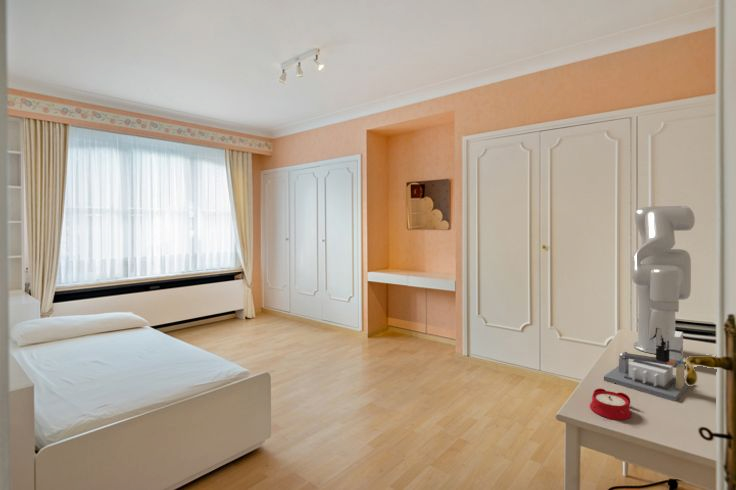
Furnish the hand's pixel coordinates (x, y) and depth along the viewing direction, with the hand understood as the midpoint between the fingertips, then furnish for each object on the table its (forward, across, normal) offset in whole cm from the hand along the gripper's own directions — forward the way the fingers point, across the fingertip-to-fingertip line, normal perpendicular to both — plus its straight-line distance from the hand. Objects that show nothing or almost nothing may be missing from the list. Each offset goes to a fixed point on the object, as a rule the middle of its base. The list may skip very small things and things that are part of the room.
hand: (662, 360), depth 125 cm
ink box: (+9, -27, -4) cm, 29 cm away
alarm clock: (+11, +27, -6) cm, 29 cm away
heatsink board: (+9, -1, -5) cm, 10 cm away
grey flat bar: (+2, -1, -4) cm, 5 cm away
